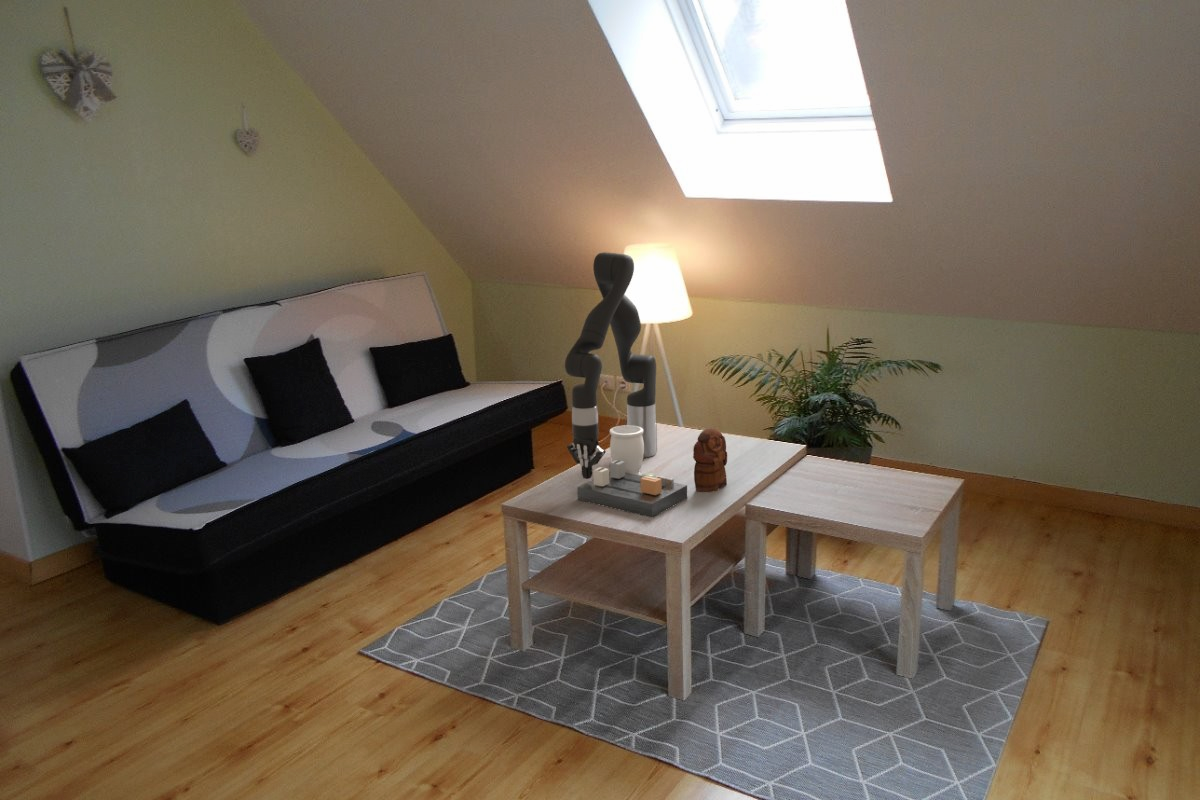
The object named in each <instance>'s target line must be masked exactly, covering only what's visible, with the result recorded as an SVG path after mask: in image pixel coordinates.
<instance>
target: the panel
mask: <svg viewBox="0 0 1200 800" xmlns="http://www.w3.org/2000/svg"><path fill="white" fill-rule="evenodd" d="M641 478H642V474H641V475H636V474H631V473H626V472H625V476H624V477H622V478H620V479H617V478H613V477H610V471H609V484H607V485H605V486H603V487H602V486H598V485H594V478H593V479H591V480H589V481H586V482H585V483H583V484H581V485H579V486H577V487H576V490H577V491H576V492H577V501H580V502H585V503H589V502H590V503H589V504H593V503H595V504H594V505H597V504H600V505H599V506H601V505H604V506H603V507H606V506H608V507H607V508H610V507H612V508H611V509H614V508H616V509H615V510H618V509H620V510H619V511H622V510H624V511H623V512H627V511H628V513H631V512H632V514H635V515H639V514H640V516H643V515H644V517H648V518H652V517H653V518H654V517H656V516H657V514H658V515H659V513H660V514H661V512H662V513H664V512H665V511H667V510H669V509H670V507H671V508H673V507H674V506H676V505H678V504H680V503H682V502H683V501H685V500H687V499H688V485H687V484H682V483H678V482H675V480H674V478H671V477H666V476H661V475H657V476H656V478H660V479H661V485H662V492H661V493H659V494H657V495H652V494H647V493H643V492H641ZM681 501H682V502H681ZM679 502H680V503H679ZM677 503H678V504H677ZM675 504H676V505H675ZM673 505H674V506H673ZM668 508H669V509H668ZM666 509H667V510H666Z"/></svg>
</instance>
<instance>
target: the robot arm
mask: <svg viewBox="0 0 1200 800" xmlns="http://www.w3.org/2000/svg"><path fill="white" fill-rule="evenodd" d="M592 267H593V276H594V278H595V282H596V285H597V288H598V289H599V292H600V294H601V297H602V300H601V301H600V302H599V303H597V305H595V306H594V307H593V308H592V309H591V310H590V312H589V313H588V314H587V317H585V320H584V324H583V327H582V330H581V332H580V336H579V337H578V339H577V340H576V341H575V343H574V344H573V346H572V348H571V349H570V350H569V352H568V354H567V355H566V357H565V361H564V370H565V372H566V374H568V376H570V377H573V378H574V377H576V378H584V379H585V380H584V383H583V384H577V385H575V386H573V387H572V389H571V398H572V401H571V402H572V411H571V426H572V427H571V428H572V437H573V439H572V443H570V444H568V445H567V446H566V449H567V451H568V452H569V454H570V455H571V457H572V458H573V460H574V462H575V464H579V465H580V467H581V476H582V478H583V479H585V480H588V479H591V478H592V477H593V466H595V465H597V464H599V462H600V461H601V459H602V458H603V457H604V455H605V454H606V450H605V449H604V448H603V449H602V448H601V447H600V442H599V440H598V438H599V435H600V434H599V432H600V431H599V412H598V411H599V410H598V402H597V401H598V400H597V399H598V398H597V397H598V396H597V394H598V393H597V392H598V387H599V381H600V378H601V374H602V368H603V363H602V359H601V358H600V356H599V355H597V354H595V353H590V352H592V351H596V350H601V348H602V347H603V346H604V343H605V339H606V336H607V334H608V331H609V327H610V329H611V331H612V335H613V337H614V342H615V345H616V350H617V354H618V355H617V356H618V361H619V366H620V372H621V373H620V374H621V376H622V379H623V380H624V381H625V382H627V383H630V384H643V386H642V387H643V388H641V389H639V390H635V391H633V392H630V393H628V394H627V396H626V412H627V414H626V415H627V418H626V419H627V421H626V422H627V425H632V426H639V427H641V428H643V434H642V437H643V443H644V454H643V458H649V457H653V456H655V455H656V454H657V452H658V425H657V423H656V420H657V419H656V391H657V389H656V383H657V362H656V359H655V357H654V356H653V355H651V354H633V353H632V351H631V349H632V347H633V345H634V343H635V342H636V340H638V337H639V335H640V332H641V330H642V323H641V319H640V315H639V311H638V309H637V306H636V305H635V304H634V303H633V302H632V301H631V299H630V298H629V297H628V296H627V295H625V294H626V293H627V292H626V291H628V288H629V286H630V284H631V281H632V280H633V279H632V278H633V275H634V271H635V263H634V260H633V257H632V256H631V255H629V254H625V253H618V252H617V253H615V252H607V251H606V252H605V251H604V252H599V253H598V254H597V255H595V257H594V260H593V266H592Z"/></svg>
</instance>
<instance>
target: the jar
mask: <svg viewBox="0 0 1200 800" xmlns="http://www.w3.org/2000/svg"><path fill="white" fill-rule="evenodd" d="M642 434H643V428H641V427H639V426H632V425H628V424H626V425H617V426H613V427H611V428H610V429H609V435H611V437H610V442H609V451H610V457H611V462H613V461H615V460H620V461H624V462H625V472H626V473H631V474H636V475H641V476H642V473H641V472H640V471H641V469H642V465H643V462H644V460H643V459H644V457H643V454H644V443H643V437H642Z"/></svg>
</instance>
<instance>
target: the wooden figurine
mask: <svg viewBox="0 0 1200 800" xmlns="http://www.w3.org/2000/svg"><path fill="white" fill-rule="evenodd" d="M692 453H693V456H692V458H693V460H694V461H695V464H694V469H693V470H694V471H693V478H694V479H693V480H694V481H693V482H694V485H695V491H696V492H702V493H711V492H712V493H713V492H716V491H719V490H720V489H722V488H724V485H727V484H728V483H727V471H726V467H725V466H726V465H727V463H728V452H727V443H726V438H725V436H724V435H723V434H722V432H721V431H720V430H718V429H717V428H712V427H711V428H706V429H703V431H701V432H700V434H699V435H698V437H697V441H696V442H695V443H694V446H693V452H692Z"/></svg>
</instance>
